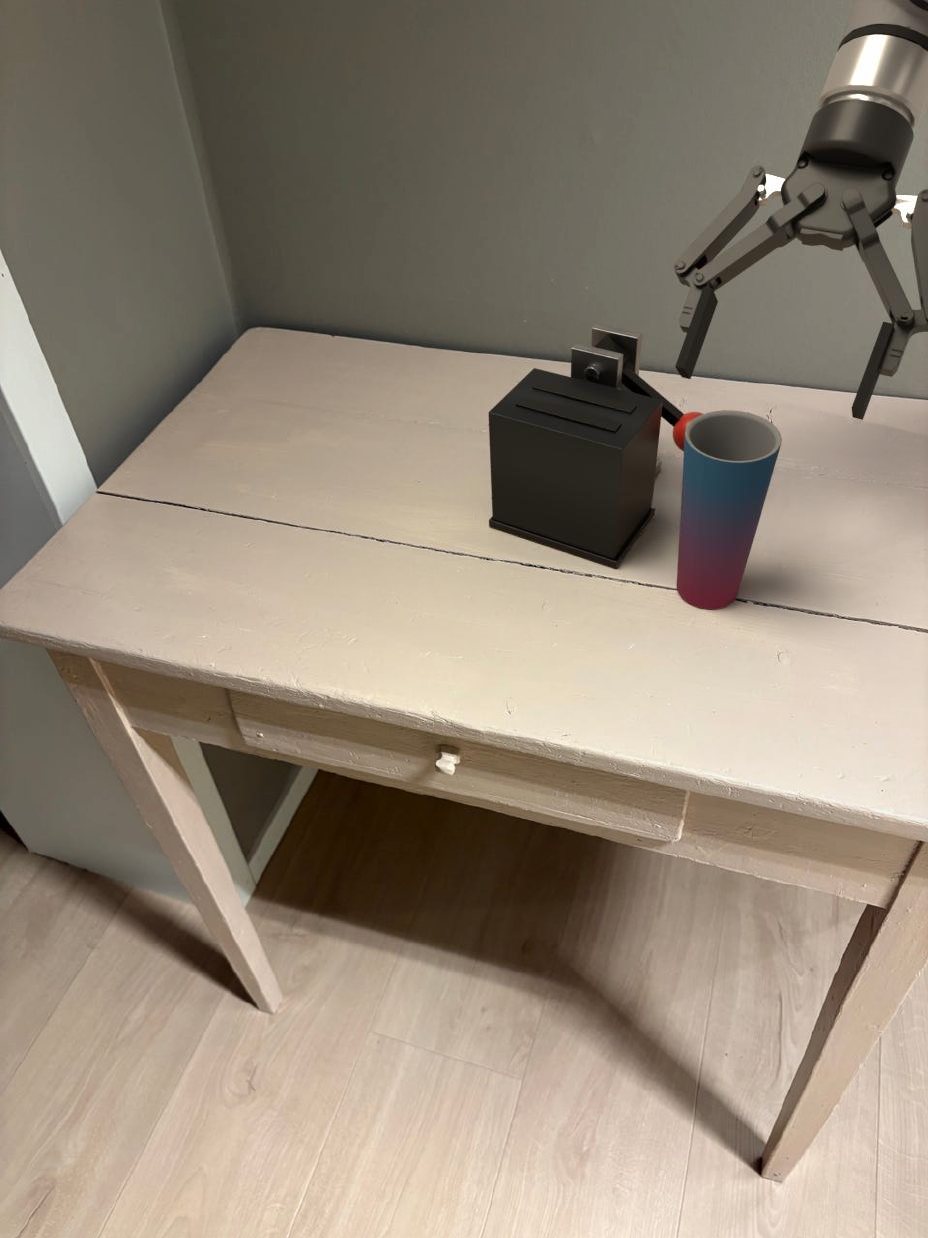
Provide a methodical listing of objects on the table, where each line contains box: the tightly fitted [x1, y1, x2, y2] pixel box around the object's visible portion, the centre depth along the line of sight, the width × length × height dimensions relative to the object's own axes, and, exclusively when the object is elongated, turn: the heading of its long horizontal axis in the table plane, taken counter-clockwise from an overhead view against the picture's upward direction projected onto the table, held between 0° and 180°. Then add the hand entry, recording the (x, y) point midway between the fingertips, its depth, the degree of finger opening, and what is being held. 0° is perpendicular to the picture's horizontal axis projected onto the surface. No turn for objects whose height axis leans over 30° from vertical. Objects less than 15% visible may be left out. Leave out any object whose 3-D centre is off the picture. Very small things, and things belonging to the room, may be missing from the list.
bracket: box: [570, 323, 662, 477], centre depth 87 cm, size 10×6×14 cm, turn 59°
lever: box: [594, 335, 704, 453], centre depth 84 cm, size 13×4×4 cm
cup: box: [676, 409, 783, 610], centre depth 74 cm, size 7×7×15 cm
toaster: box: [487, 367, 663, 570], centre depth 83 cm, size 13×8×12 cm
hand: (766, 393), depth 74 cm, fingers open, 13 cm apart
